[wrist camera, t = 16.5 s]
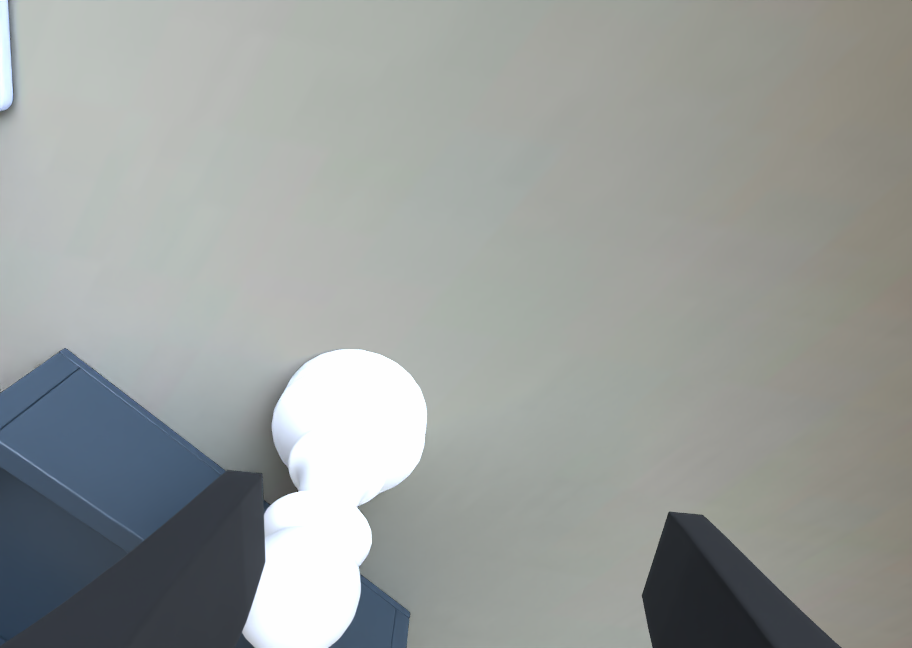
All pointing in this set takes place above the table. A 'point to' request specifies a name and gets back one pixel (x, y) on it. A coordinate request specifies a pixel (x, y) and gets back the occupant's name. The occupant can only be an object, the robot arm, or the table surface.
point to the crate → (105, 496)
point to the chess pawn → (331, 491)
